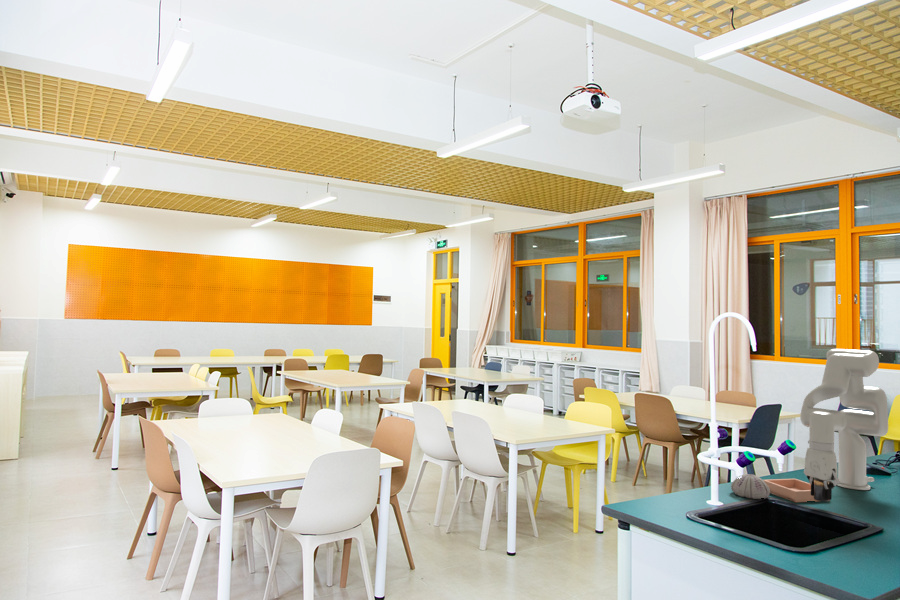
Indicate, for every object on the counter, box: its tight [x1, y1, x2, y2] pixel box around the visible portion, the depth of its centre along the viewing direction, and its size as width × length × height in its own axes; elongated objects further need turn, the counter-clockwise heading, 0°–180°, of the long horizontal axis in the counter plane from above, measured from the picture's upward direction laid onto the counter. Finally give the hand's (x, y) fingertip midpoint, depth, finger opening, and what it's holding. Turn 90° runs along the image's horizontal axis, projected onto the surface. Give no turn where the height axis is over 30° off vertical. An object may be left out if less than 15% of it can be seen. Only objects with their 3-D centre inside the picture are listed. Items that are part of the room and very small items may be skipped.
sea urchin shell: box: [730, 473, 771, 500], centre depth 223 cm, size 13×14×8 cm
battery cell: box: [814, 478, 829, 503], centre depth 210 cm, size 4×4×8 cm
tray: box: [762, 478, 831, 503], centre depth 226 cm, size 16×16×4 cm
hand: (821, 497), depth 210 cm, fingers closed on battery cell, 4 cm apart
